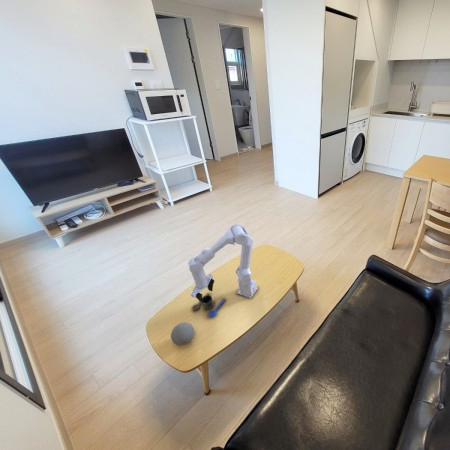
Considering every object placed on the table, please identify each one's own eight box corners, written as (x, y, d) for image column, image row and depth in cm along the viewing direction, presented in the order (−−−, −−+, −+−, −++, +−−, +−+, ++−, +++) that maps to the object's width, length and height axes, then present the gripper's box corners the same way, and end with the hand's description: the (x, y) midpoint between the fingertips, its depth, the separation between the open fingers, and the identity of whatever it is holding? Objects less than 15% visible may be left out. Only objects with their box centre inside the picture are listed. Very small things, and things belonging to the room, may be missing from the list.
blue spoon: (221, 299, 135) (221, 298, 135) (226, 300, 134) (226, 300, 134) (207, 316, 126) (207, 315, 126) (213, 318, 125) (212, 317, 125)
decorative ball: (174, 353, 110) (167, 341, 104) (174, 334, 118) (168, 322, 112) (197, 344, 113) (191, 332, 108) (195, 327, 121) (190, 315, 115)
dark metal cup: (216, 303, 133) (213, 297, 130) (209, 311, 129) (207, 304, 126) (208, 300, 135) (205, 294, 131) (201, 308, 130) (198, 301, 127)
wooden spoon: (206, 293, 139) (205, 292, 138) (211, 295, 138) (210, 294, 137) (191, 309, 130) (190, 308, 129) (196, 311, 128) (196, 310, 128)
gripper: (203, 266, 127) (209, 284, 135) (183, 286, 116) (190, 303, 123) (214, 270, 125) (219, 287, 132) (194, 290, 114) (201, 308, 121)
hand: (206, 295), depth 128 cm, fingers open, 7 cm apart
